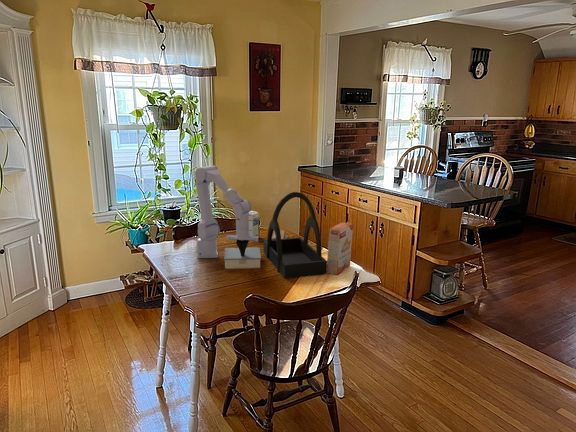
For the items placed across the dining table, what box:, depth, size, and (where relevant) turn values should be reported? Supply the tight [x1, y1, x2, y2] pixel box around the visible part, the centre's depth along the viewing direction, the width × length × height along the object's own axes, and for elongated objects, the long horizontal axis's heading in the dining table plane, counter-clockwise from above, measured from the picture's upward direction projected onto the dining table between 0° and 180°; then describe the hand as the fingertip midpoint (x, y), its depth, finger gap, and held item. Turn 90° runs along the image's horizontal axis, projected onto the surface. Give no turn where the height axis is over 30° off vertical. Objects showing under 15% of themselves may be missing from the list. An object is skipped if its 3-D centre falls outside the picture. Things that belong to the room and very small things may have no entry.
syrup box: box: [249, 210, 260, 237], centre depth 241 cm, size 6×6×14 cm
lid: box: [223, 247, 262, 261], centre depth 203 cm, size 17×15×1 cm
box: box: [224, 259, 261, 270], centre depth 204 cm, size 16×14×4 cm
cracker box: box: [326, 221, 354, 276], centre depth 197 cm, size 14×6×21 cm, turn 148°
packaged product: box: [272, 229, 289, 240], centre depth 236 cm, size 18×5×10 cm
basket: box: [263, 191, 328, 280], centre depth 202 cm, size 35×21×35 cm, turn 18°
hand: (242, 255), depth 200 cm, fingers closed, pressing on lid
